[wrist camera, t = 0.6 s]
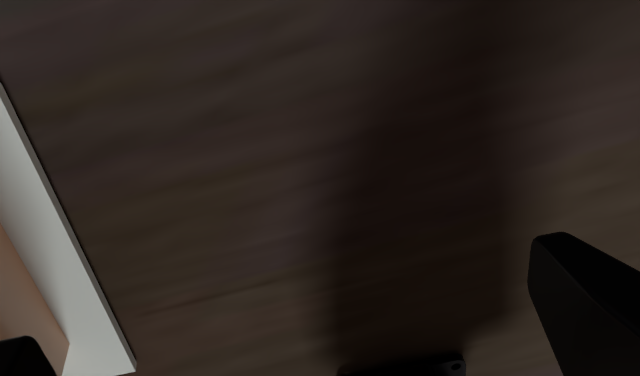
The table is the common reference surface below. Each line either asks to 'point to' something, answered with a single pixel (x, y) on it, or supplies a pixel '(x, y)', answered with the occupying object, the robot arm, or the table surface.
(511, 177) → the table surface
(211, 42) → the table surface
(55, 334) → the tile
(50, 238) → the mat
